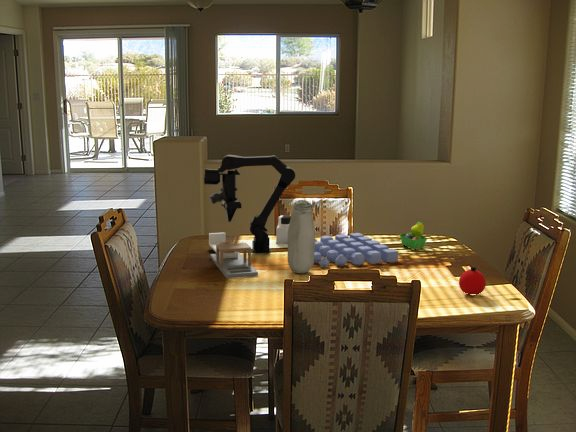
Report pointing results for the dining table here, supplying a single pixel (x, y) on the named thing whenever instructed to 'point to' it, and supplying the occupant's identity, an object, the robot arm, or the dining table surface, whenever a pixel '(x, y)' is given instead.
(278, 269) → the dining table surface
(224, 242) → the block
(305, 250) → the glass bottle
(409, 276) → the dining table surface
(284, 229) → the medicine bottle
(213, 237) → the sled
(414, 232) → the fruit basket
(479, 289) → the ornament
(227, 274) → the grey piece
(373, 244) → the blocks
